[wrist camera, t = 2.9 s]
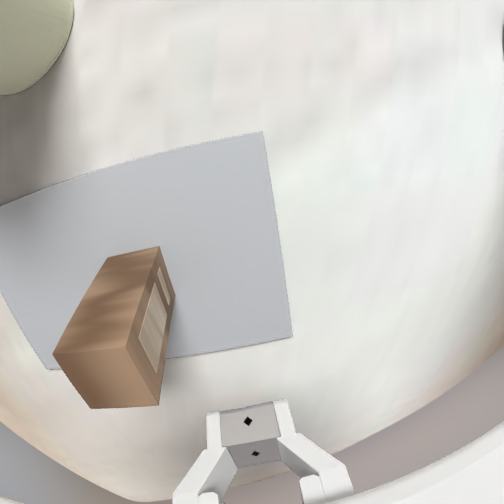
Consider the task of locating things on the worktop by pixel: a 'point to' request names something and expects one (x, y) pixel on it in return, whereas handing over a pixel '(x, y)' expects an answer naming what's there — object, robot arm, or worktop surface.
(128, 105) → the worktop surface
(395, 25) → the worktop surface
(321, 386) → the worktop surface
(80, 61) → the worktop surface
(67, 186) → the grey mat
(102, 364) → the brown box
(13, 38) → the can
